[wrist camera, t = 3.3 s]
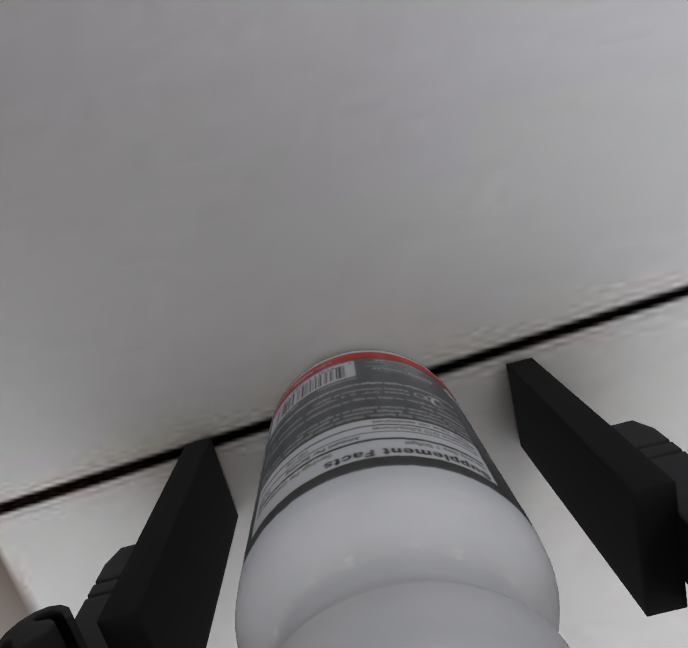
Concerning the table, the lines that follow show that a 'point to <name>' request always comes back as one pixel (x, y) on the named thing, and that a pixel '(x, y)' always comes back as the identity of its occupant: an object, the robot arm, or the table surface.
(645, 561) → the robot arm
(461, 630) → the pill bottle
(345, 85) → the table surface
